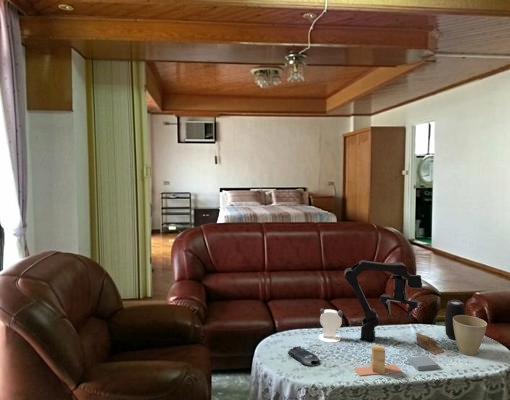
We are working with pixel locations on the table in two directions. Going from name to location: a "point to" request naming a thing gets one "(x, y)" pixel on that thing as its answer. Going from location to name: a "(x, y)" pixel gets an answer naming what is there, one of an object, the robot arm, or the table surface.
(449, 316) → the portable speaker
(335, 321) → the panda figurine
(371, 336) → the robot arm
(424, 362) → the slate ledge
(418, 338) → the wooden fragment
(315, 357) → the electronic device
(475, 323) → the plant pot
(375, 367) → the oak block
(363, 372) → the terracotta mat
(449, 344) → the table surface
